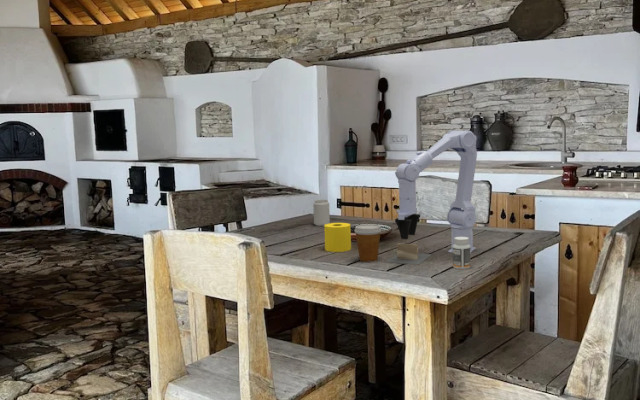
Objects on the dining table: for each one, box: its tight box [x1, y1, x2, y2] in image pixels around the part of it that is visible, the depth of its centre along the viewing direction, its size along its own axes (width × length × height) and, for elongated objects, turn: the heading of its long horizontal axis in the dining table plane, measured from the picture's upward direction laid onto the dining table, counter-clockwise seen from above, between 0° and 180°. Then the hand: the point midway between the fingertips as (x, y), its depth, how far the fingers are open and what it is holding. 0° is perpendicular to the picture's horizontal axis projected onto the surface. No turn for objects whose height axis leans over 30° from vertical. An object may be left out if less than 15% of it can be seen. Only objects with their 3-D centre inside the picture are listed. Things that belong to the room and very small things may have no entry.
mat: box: [385, 252, 433, 266], centre depth 216 cm, size 16×12×1 cm
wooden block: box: [396, 243, 419, 260], centre depth 215 cm, size 2×7×5 cm, turn 63°
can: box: [312, 199, 331, 227], centre depth 290 cm, size 8×8×12 cm
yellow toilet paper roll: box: [323, 222, 352, 253], centre depth 236 cm, size 10×10×9 cm
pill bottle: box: [452, 237, 472, 270], centre depth 201 cm, size 6×6×10 cm
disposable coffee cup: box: [354, 223, 382, 263], centre depth 216 cm, size 10×10×12 cm
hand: (408, 236), depth 214 cm, fingers open, 7 cm apart
